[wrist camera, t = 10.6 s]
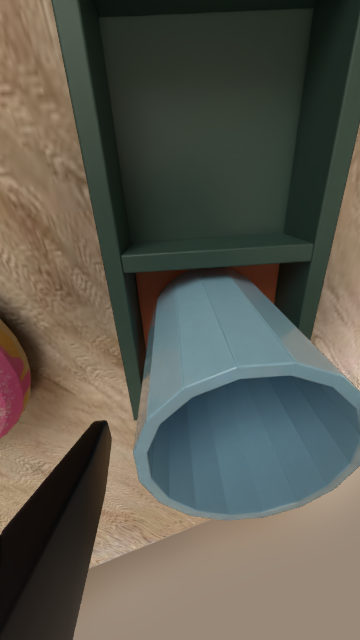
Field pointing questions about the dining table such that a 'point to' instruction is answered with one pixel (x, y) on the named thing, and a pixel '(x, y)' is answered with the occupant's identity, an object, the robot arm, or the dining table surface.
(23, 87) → the dining table surface
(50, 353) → the dining table surface
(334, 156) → the cup rack
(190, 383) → the blue cup
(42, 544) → the robot arm
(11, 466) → the dining table surface
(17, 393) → the donut
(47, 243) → the dining table surface
